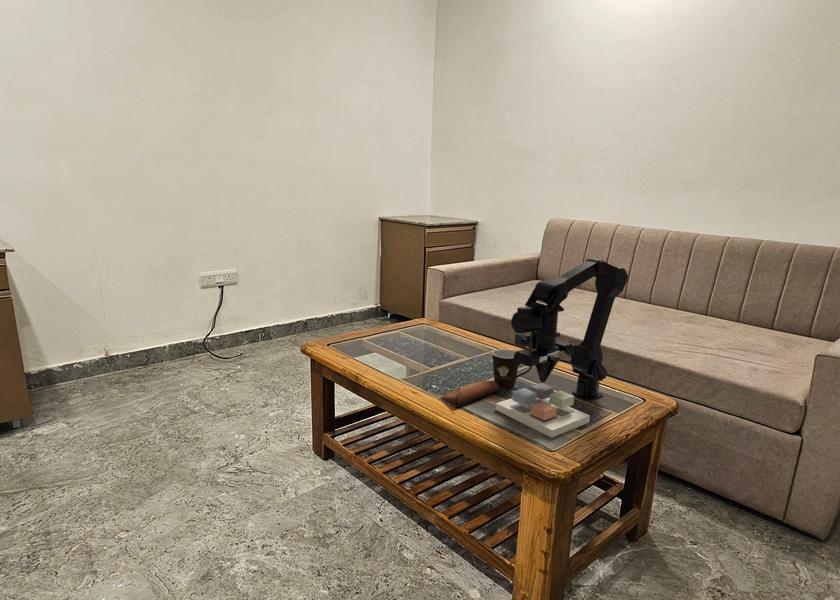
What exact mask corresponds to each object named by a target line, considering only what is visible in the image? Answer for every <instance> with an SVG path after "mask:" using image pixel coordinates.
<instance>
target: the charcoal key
mask: <svg viewBox="0 0 840 600" xmlns="http://www.w3.org/2000/svg"><path fill="white" fill-rule="evenodd" d="M529 390H530V391H532V392H534V393H536V397H537V398H539V399H541V400H543V399H546V398H550V394H552V393H554V387H552V386H551V385H547V384H546V383H542V382H539V383H536V384H533V385H530V387H529Z"/></svg>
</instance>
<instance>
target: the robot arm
mask: <svg viewBox="0 0 840 600" xmlns="http://www.w3.org/2000/svg"><path fill="white" fill-rule="evenodd" d="M592 278H595V281H594V285H595V286H594V287H595V290H596V292H597V293H596V298H595V301H594V304H593V307H592V310H591V314H590V317H589V320H588V324H587V327H586V330H585V332H584V333H585V334H584V336H583V340H582V341H581V342H580V343H579V344H574V345H573V343H570V342H568V341H565V340H560V339H558V340H557V338H558V337H560V336H561V332H558V319H559V313H560V312H564V311H565V308H564V307H563V306H561V304H562V302H564V301H565V300H566V299H567V298H568V296H569V293H570V292H572V291H573V290H575V289H576V288H578V287H579V286H581V285H583V284H584V283H586V282H587V281H589V280H590V279H592ZM628 280H629V275H628V273H627V270H626V269H625V268H623V267H617V266H614V265H612V264H609V263H607V262H606V261H605V260H603V259H599V258H592V257H589V258H587V259H585V261H584V262H582V263H580V264H578V265H577V266H576V267H574V268H572V269H570V270H568V271H566V272H565V273H563V274H562V275H560V276H557V277H552V278H547V279H544V280H540V281H539V282H537V283H536V284H535V285H534V288H533V291H532V292H531V294H530V295H529V296H528V299H527V301H526V302H525V304H524V306H525V307H522V306H521V307H517V309H516V312H514V313H513V315H512V317H511V319H510V321H511V328H512V330H513V331H514V332H515V333H516V334H514V344H515V346H517V347H518V346H519V349H520V350H515V351H516V352H515V353H514V361H515V362H518V363H520V365H524V366H525V367H530V366H532V367H533V366H535V369H536V372H537V376H538V378H539V381H540V382H539V383H543V384H545V383H546V381H547V379H548V378H549V376H550V374H551V373H552V372H553V370H554V369H555V367H556V366H557V364H558V363H559V362H560V361H561V358H560V357H557V356H558V355H557V354H558V353H560V352H564V354H565V356H566V357H569V358H570V365H571V370H572V373H574V374H577V375H578V376H577V382H576V390H574V391H572V394H571V395H574V396H577V397H580V398H583V399H584V400H587V401H593V400H595V399H598V398H600V397H603V396H604V395H603V393H601V392H600V391H599V390H600V382H603V380H606V378H607V375H608V370H607V369H606V368H605V366H604V365H603V364H602V362H603V357H604V355H603V352H602V348H601V344H602V341H603V339H604V338H603V337H604V334H605V331H606V328H607V325H608V323H609V318H610V314H611V313H612V312H611V311H612V308H613V305H614V302H615V299H616V298H617V297H618V296H619V295H620V294H621V293H622V292H623V291H624V290H625V287H626V284H627V282H628ZM526 333H530V334H526ZM526 347H528V349H526ZM522 348H524V349H522ZM533 350H534V351H533Z"/></svg>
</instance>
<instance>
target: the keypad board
mask: <svg viewBox="0 0 840 600" xmlns="http://www.w3.org/2000/svg"><path fill="white" fill-rule="evenodd" d="M549 399H550V397H549V398H546V399H543V400H541V399H539V398H537V397H536V402H534V403H531V404H528V405H525V406H524V405H521V404H519V403H517V402H515V401H513V400H512V398H508V399H506V400H503V401H502V400H501V401H499V402H496V403H495V404H496V405H495V406H496V407H495V411H497V412H499V413H501V414H503V415H506V416H508V417H509V418H512V419H514V420H515V421H517V422H519V423H522V424H523V425H526V426H527V427H529V428H531V429H533V430H536V431H537V432H540V433H541V434H543V435H545V436H548V437H549V438H551V439H552V438H554V437H557V436H559V435H562V434H564V433H567V432H569V431H571V430H574V429H576V428H579V427H581V426H584V425H587V424H589V423H590V421H591V419H590V417H591V415H589V414H588V413H585V412H582V411H580V410H578V409H575V408H573V407H571V406H568V407H566V408H563V409H562V408H560V407H557V406H555V405H553V404H551V403H549ZM540 402H546V403H548V404H550V405H552V406H555V407H556V416H555V417H552V418H549V419H546V420H542V419H540V418H538V417H536V416H534V415H532V414H531V408H532V405H534V404H537V403H540Z"/></svg>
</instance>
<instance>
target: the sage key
mask: <svg viewBox="0 0 840 600" xmlns="http://www.w3.org/2000/svg"><path fill="white" fill-rule="evenodd" d="M549 398H550V399H549V403H551V404H553V405H555V406H557V407H560V408H562V409H563V408H566V407H568V406H569V407H571V406H573V405H574V400H575V395H574V394H570V393H567V392H565V391H564V390H559V391H555V392H553V393H552V394H550V397H549Z"/></svg>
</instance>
